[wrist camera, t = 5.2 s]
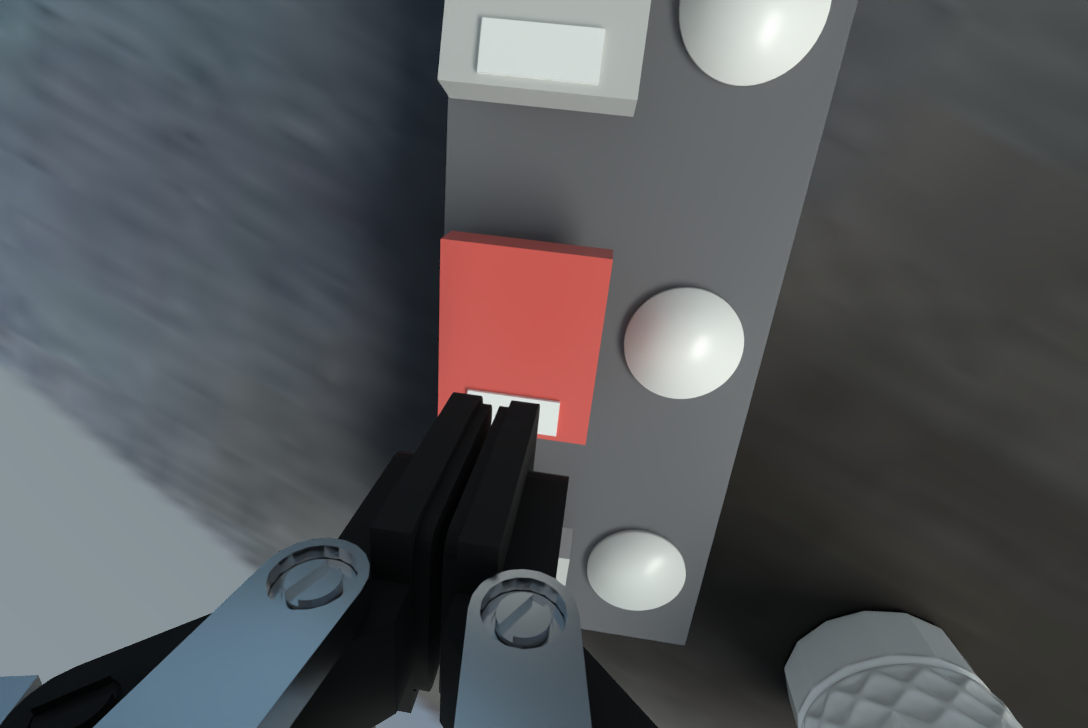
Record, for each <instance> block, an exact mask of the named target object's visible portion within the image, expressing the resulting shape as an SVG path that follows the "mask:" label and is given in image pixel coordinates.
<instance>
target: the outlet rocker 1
mask: <svg viewBox="0 0 1088 728" xmlns="http://www.w3.org/2000/svg"><path fill="white" fill-rule="evenodd" d="M650 5H651V0H445V5H444V15H443V26H442V37H441V48H440V58H439V69H438V81H439V83H440V84H441V86H442V87H443V89H444V90H445V92H446V93H447V94H448V96H449V97H450V98H455V99H465V100H475V101H484V102H494V103H504V104H513V105H523V106H533V107H543V108H552V109H562V110H572V111H581V112H591V113H601V114H610V115H620V116H630V117H633V116H634V112H635V108H636V104H637V100H638V92H639V85H640V78H641V71H642V63H643V56H644V49H645V42H646V34H647V27H648V20H649V13H650Z"/></svg>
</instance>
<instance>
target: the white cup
mask: <svg viewBox="0 0 1088 728" xmlns="http://www.w3.org/2000/svg"><path fill="white" fill-rule="evenodd" d="M784 671H785V678H786V684H787V691H788V696H789V700H790V704H791V707H792V711H793V714H794V718H795V721H796V725H797V728H1023V727H1022V726H1021V725H1020V724H1019V723H1018V722H1017V720H1016V719H1015V717H1014V716H1013V715H1012V713H1011V712H1010V710H1009V709H1008V708H1007V706H1006V705H1005V704H1004V703H1003V702H1002V701H1001V700H1000V699H999V698H998V697H996V696H995V695H994V694H993V693H992V692H991V691H990V690H989V688H988V687H987V686H986V685H985V684H984V683H983V682H982V680H981V679H980V678H979V677H978V676H977V674H976V673H975V672H974V670H973V669H972V668H971V666H970V665H969V664H968V662H967V661H966V660H965V658H964V657H963V656H962V654H961V653H960V652H959V651H958V649H957V648H956V647H955V646H954V644H953V643H952V642H951V640H950V639H949V638H948V637H947V635H946V634H945V633H944V632H943V630H942V629H941V628H939V627H937V626H935V625H932V624H930V623H928V622H925V621H923V620H921V619H919V618H916V617H914V616H912V615H909V614H907V613H900V612H883V611H861V612H857V613H854V614H850V615H846V616H842V617H839V618H835V619H831V620H828V621H825V622H824V623H823V624H821V625H820V626H818V627H817V628H816V629H814V630H813V631H811V632H810V633H809V634H807V635H806V636H804V637H803V638H802V639H800V640H799V641H798V642H797V643H796V645H795V647H794V649H793V651H792V653H791V655H790V657H789V659H788V661H787V663H786V665H785V667H784Z"/></svg>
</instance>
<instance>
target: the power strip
mask: <svg viewBox="0 0 1088 728" xmlns="http://www.w3.org/2000/svg"><path fill="white" fill-rule="evenodd" d="M857 3H858V0H651V5H650V13H649V20H648V27H647V34H646V42H645V49H644V56H643V63H642V71H641V78H640V85H639V92H638V100H637V104H636V108H635V112H634V116H633V117H630V116H620V115H610V114H601V113H591V112H581V111H572V110H562V109H552V108H543V107H533V106H523V105H513V104H504V103H494V102H484V101H475V100H465V99H455V98H450V97H449V96H448V118H447V153H446V187H445V222H444V236H445V235H446V234H448V233H449V232H451V231H460V232H468V233H477V234H485V235H494V236H502V237H510V238H519V239H527V240H536V241H544V242H553V243H561V244H569V245H578V246H586V247H595V248H603V249H612V250H613V263H612V270H611V277H610V283H609V290H608V297H607V304H606V310H605V317H604V324H603V330H602V337H601V344H600V351H599V357H598V364H597V371H596V378H595V384H594V391H593V398H592V405H591V411H590V418H589V425H588V432H587V438H586V445H581V444H574V443H567V442H560V441H553V440H546V439H539V438H537V441H536V451H535V460H534V470H533V471H536V472H543V473H550V474H556V475H563V476H569V482H568V490H567V498H566V505H565V513H564V521H563V528H569V529H573V533H572V542H571V552H570V561H569V567H568V573H567V579H566V585H565V587H567V589H568V590H569V592H570V593H571V594H572V596H573V597H574V599H575V601H576V604H577V607H578V611H579V616H580V625H581V629H586V630H592V631H599V632H605V633H611V634H617V635H623V636H629V637H635V638H642V639H648V640H654V641H660V642H666V643H672V644H678V645H685V643H686V639H687V635H688V632H689V628H690V624H691V620H692V617H693V613H694V609H695V606H696V602H697V598H698V594H699V591H700V587H701V583H702V579H703V576H704V572H705V568H706V565H707V561H708V557H709V553H710V550H711V546H712V542H713V539H714V535H715V531H716V527H717V524H718V520H719V516H720V513H721V509H722V505H723V501H724V498H725V494H726V490H727V486H728V483H729V479H730V475H731V472H732V468H733V464H734V460H735V457H736V453H737V449H738V446H739V442H740V438H741V434H742V431H743V427H744V423H745V419H746V416H747V412H748V408H749V405H750V401H751V397H752V393H753V390H754V386H755V382H756V379H757V375H758V371H759V367H760V364H761V360H762V356H763V352H764V349H765V345H766V341H767V338H768V334H769V330H770V326H771V323H772V319H773V315H774V312H775V308H776V304H777V300H778V297H779V293H780V289H781V286H782V282H783V278H784V274H785V271H786V267H787V263H788V259H789V256H790V252H791V248H792V245H793V241H794V237H795V233H796V230H797V226H798V222H799V219H800V215H801V211H802V207H803V204H804V200H805V196H806V192H807V189H808V185H809V181H810V178H811V174H812V170H813V166H814V163H815V159H816V155H817V152H818V148H819V144H820V140H821V137H822V133H823V129H824V125H825V122H826V118H827V114H828V111H829V107H830V103H831V99H832V96H833V92H834V88H835V85H836V81H837V77H838V73H839V70H840V66H841V62H842V59H843V55H844V51H845V47H846V44H847V40H848V36H849V32H850V29H851V25H852V21H853V18H854V14H855V10H856V6H857Z"/></svg>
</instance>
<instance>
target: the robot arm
mask: <svg viewBox="0 0 1088 728" xmlns="http://www.w3.org/2000/svg"><path fill="white" fill-rule="evenodd" d="M539 412H540V404H536V403H529V402H522V401H514V400H512V401H511V402H510V405H509V407H504V406H499V408H498V411H497V413H496V415H495V418H494V420H493V423H492V425H491V422H492V405H490V404H483V397H482V396H479V395H472V394H465V393H458V392H453V393H452V394H451V396H450V398H449V399H448V401H447V403H446V404H445V406H444V407H443V409H442V411H441V412H440V414H439V416H438V417H437V419H436V420H435V422H434V424H433V425H432V427H431V428H430V430H429V432H428V433H427V435H426V437H425V438H424V440H423V441H422V443H421V445H420V446H419V448H418V450H417V451H416V453H409V452H403V451H400V452H397V454H396V455H395V456H394V457H393V458H392V460H391V461H390V463H389V464H388V466H387V467H386V469H385V470H384V472H383V473H382V475H381V476H380V478H379V479H378V481H377V482H376V483H375V485H374V486H373V488H372V489H371V491H370V492H369V494H368V495H367V497H366V498H365V500H364V501H363V503H362V504H361V506H360V507H359V509H358V510H357V512H356V513H355V514H354V516H353V517H352V519H351V520H350V522H349V523H348V525H347V526H346V528H345V529H344V531H343V532H342V534H341V535H340V537H339V538H338V539H335V538H317V539H310V540H307V541H303V542H299V543H296V544H293V545H291V546H289V547H287V548H285V549H283V550H281V551H279V552H278V553H277V554H275V555H274V556H273V557H271V558H270V559H269V560H267V561H266V562H265V563H264V564H263V565H262V566H261V567H260V568H259V569H258V570H257V571H256V572H255V573H254V574H253V575H252V576H250V577H249V578H248V579H247V580H246V581H245V582H244V583H243V584H242V585H241V586H240V587H239V588H238V589H237V590H236V591H235V592H234V593H233V594H232V595H231V596H230V597H229V598H228V599H226V600H225V601H224V603H222V604H221V605H220V606H219V607H218V608H217V609H216V610H215V611H214V612H213V613H211V614H208V615H206V616H203V617H201V618H198V619H196V620H193V621H191V622H188V623H185V624H183V625H180V626H178V627H176V628H173V629H170V630H168V631H165V632H163V633H160V634H158V635H155V636H152V637H150V638H147V639H145V640H142V641H140V642H137V643H135V644H132V645H130V646H127V647H125V648H122V649H119V650H117V651H115V652H112V653H110V654H107V655H104V656H102V657H99V658H97V659H94V660H92V661H89V662H86V663H84V664H81V665H79V666H77V667H74V668H72V669H70V670H68V671H66V672H64V673H62V674H60V675H58V676H56V677H54V678H52V679H50V680H49V681H47V682H46V683H45V684H43V685H42V683H41V681H40V678H39V676H38V675H31V676H9V677H0V728H375V726H376V725H377V724H379V723H381V722H382V721H384V720H385V719H387V718H389V717H391V716H392V715H394V714H396V712H397V711H403V712H408V713H411V711H412V708H413V705H414V703H415V700H416V697H417V694H418V691H419V690H423V691H428V692H429V691H430V690H431V688H432V686H433V683H434V680H435V677H436V674H437V671H438V668H439V665H440V680H439V693H440V694H441V697H440V723H441V724H442V726H443V728H658V727H657V726H656V725H655V724H654V723H653V722H652V721H651V720H650V718H649V717H648V716H647V715H646V714H645V713H644V712H643V711H642V710H641V709H640V708H639V706H638V705H637V704H636V703H635V702H634V701H633V700H632V699H631V698H630V697H629V696H628V694H627V693H626V692H625V691H624V690H623V689H622V688H621V687H620V686H619V685H618V684H617V683H616V681H615V680H614V679H613V678H612V677H611V676H610V675H609V674H608V673H607V672H606V671H605V669H604V668H603V667H602V666H601V665H600V664H599V663H598V662H597V661H596V660H595V659H594V657H593V656H592V655H591V654H590V653H589V652H588V651H587V650H586V649H585V648H584V647H583V643H582V634H581V625H580V616H579V611H578V607H577V604H576V601H575V599H574V597H573V596H572V594H571V593H570V592H569V590H568V589H567V587H565V586H564V585H563V584H561V583H560V582H559V581H558V580H556V575H557V567H558V559H559V552H560V544H561V536H562V528H563V521H564V513H565V505H566V498H567V490H568V482H569V476H563V475H556V474H550V473H543V472H536V471H533V470H534V460H535V451H536V441H537V432H538V422H539Z"/></svg>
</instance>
